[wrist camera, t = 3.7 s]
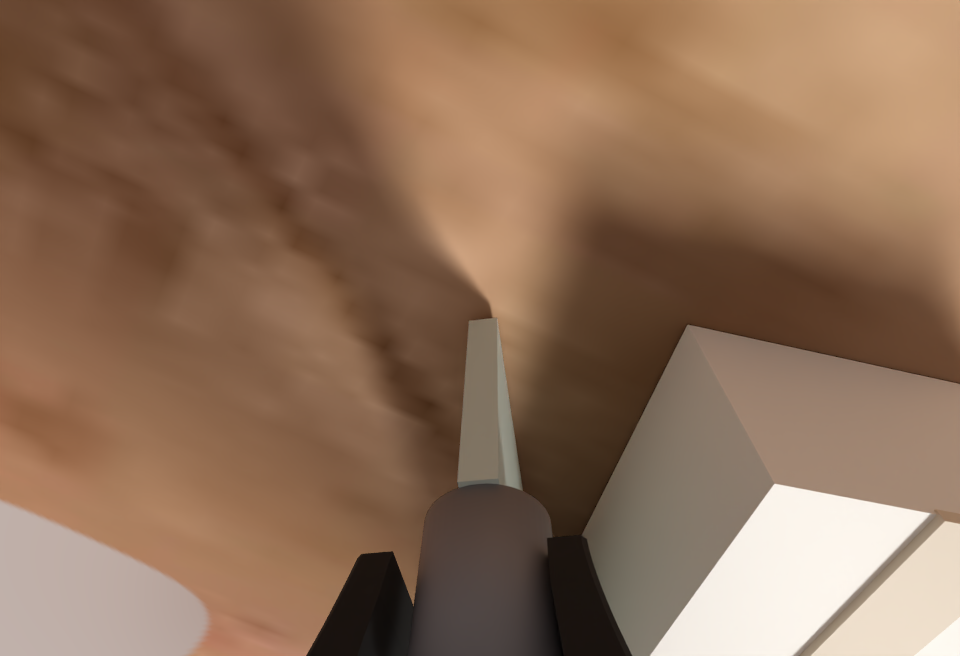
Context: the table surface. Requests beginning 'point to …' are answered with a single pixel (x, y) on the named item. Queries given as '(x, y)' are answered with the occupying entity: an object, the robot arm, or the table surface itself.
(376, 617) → the robot arm
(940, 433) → the carton
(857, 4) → the table surface
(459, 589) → the flap
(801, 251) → the table surface
